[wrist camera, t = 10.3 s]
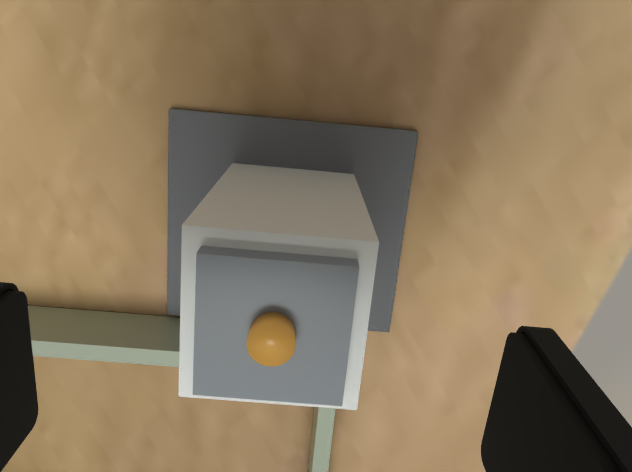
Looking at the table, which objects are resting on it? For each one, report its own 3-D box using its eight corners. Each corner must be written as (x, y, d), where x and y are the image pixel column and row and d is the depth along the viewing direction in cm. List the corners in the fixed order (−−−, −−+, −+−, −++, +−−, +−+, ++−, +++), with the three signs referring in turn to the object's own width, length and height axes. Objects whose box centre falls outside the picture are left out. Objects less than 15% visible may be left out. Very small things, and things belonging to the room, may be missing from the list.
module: (232, 162, 22) (169, 239, 13) (354, 173, 22) (385, 257, 13) (227, 276, 24) (167, 423, 14) (341, 285, 24) (360, 437, 14)
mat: (171, 108, 22) (168, 108, 22) (416, 130, 22) (418, 131, 22) (169, 310, 25) (167, 314, 24) (388, 328, 25) (389, 332, 25)
